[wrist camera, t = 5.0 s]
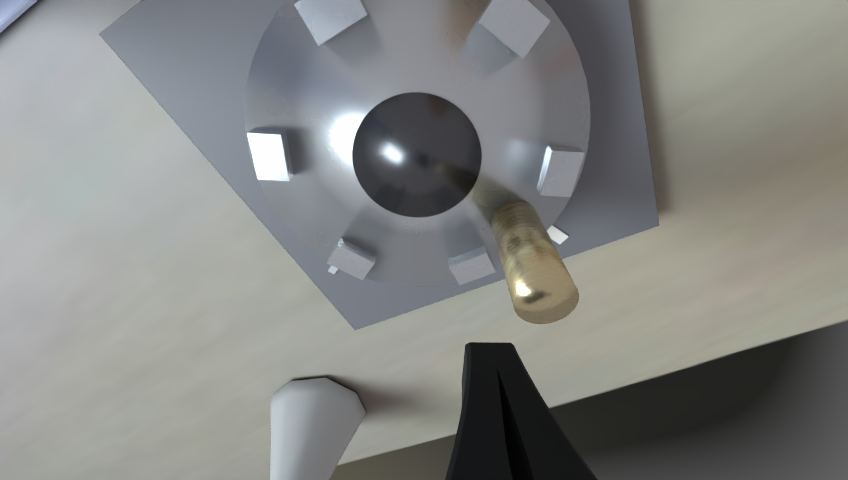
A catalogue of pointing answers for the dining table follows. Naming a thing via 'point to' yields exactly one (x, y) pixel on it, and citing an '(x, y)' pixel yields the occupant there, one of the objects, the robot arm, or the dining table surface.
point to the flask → (311, 428)
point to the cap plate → (228, 153)
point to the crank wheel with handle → (423, 139)
